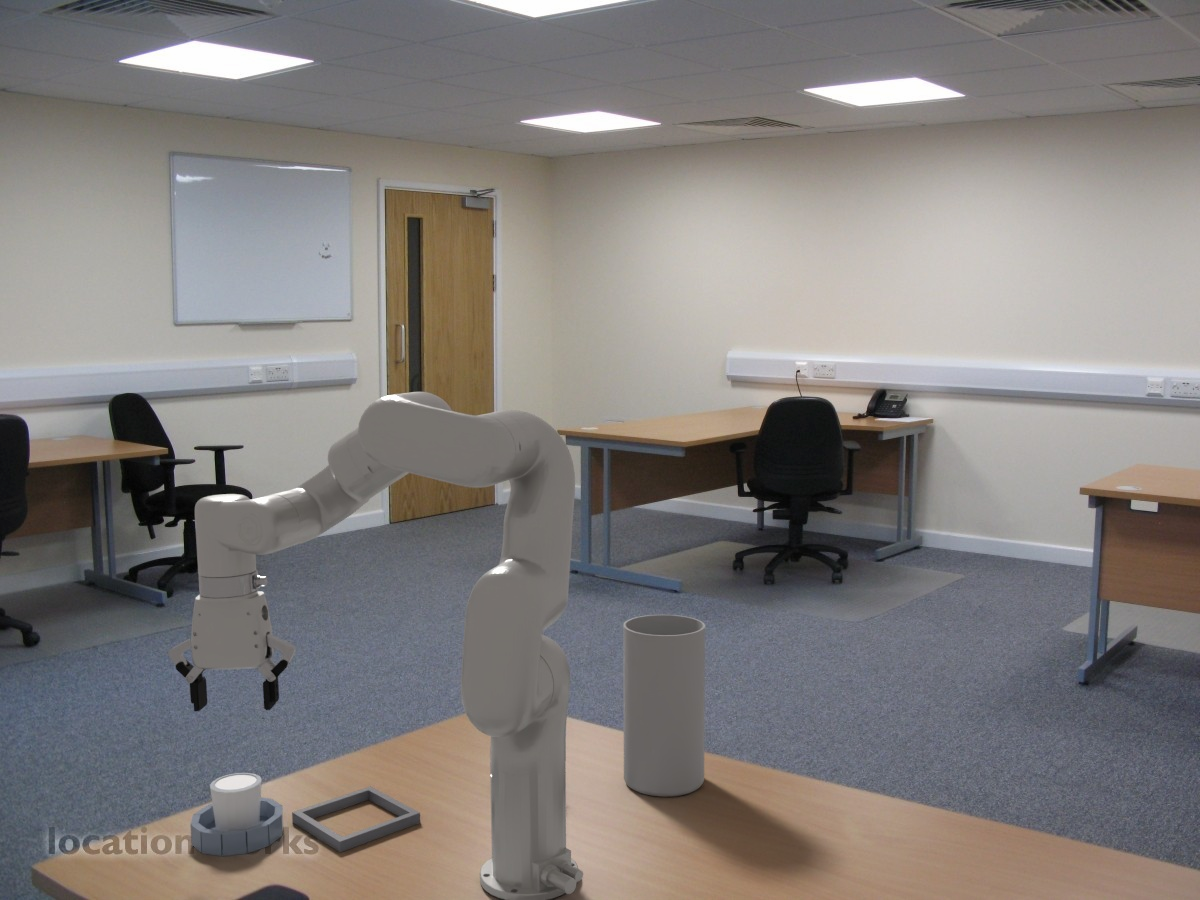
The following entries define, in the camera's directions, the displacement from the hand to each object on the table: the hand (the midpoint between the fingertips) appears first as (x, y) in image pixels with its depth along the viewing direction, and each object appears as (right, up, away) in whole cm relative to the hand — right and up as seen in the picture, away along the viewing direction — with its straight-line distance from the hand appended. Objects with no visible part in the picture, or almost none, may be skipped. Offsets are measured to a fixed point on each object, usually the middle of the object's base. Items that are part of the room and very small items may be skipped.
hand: (235, 707), depth 153 cm
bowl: (0, -18, +2) cm, 18 cm away
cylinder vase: (+60, -16, +20) cm, 65 cm away
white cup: (0, -18, +2) cm, 18 cm away
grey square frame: (+15, -18, +6) cm, 24 cm away
